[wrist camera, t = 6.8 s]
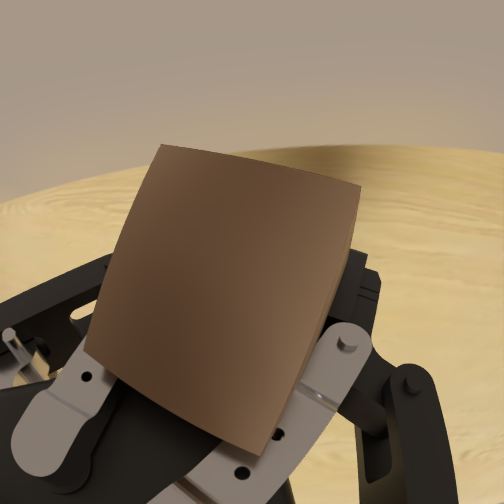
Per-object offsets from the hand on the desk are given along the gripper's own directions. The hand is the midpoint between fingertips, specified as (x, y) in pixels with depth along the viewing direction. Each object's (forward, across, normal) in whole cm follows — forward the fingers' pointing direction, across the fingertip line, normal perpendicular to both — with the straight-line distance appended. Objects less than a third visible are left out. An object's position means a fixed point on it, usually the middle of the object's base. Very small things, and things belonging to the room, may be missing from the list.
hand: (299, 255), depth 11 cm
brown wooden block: (+3, 0, +6) cm, 6 cm away
